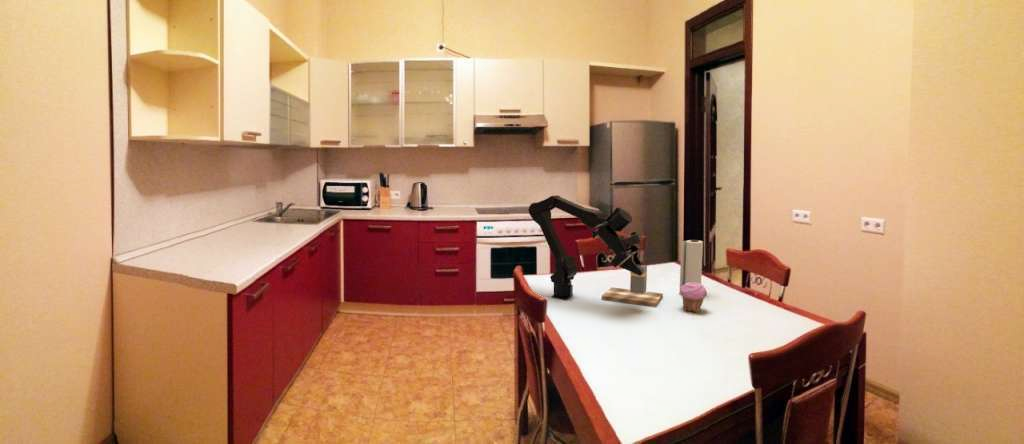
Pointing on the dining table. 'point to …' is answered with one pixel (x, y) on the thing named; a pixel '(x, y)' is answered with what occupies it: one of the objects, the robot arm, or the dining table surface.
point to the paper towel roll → (691, 262)
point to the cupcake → (693, 295)
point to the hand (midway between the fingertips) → (642, 273)
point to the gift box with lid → (639, 280)
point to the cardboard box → (632, 297)
